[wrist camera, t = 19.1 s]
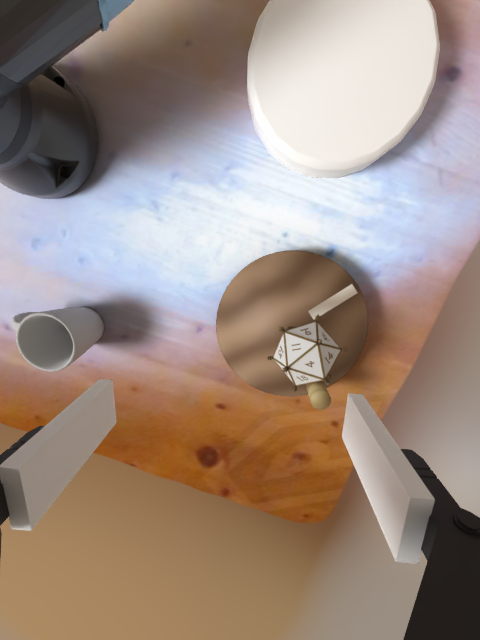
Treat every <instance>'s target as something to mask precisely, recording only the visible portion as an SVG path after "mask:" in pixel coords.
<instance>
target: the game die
mask: <svg viewBox="0 0 480 640" xmlns="http://www.w3.org/2000/svg"><path fill="white" fill-rule="evenodd" d="M318 320H319V314H318V315H317V316H315V321H313V322H310V323H307V324H304V325H301V326H297V327H294V328H291V329H290V328H287V329H286V330H284V328H283V327H280V326H279V331H281V332H283V333H282V336H281V338H280V341H279V343H278V345H277V348H276V350H275V352H274V355H273V356H268V357H267V358H266V359H268V360H272V359H273V360H274V361H275V362H276V363H277V365H278V366H279V367H280V368H281V369H282V371H283V372H284V373H285V374H286V376H287V377H288V378H289V379H290V381H291V382H292V383H293V384H294V387H293V389H292V390H293V393H294V392H295V391H297V390H296V389H297V386H300V385H305V384H310V383H314V382H319V381H324V383H325V385H328V386H330V385H329V383H330V382H329V381H328V380H327V379H326V378H328V379H331V375H329V373H330V371H331V369H332V367H333V366H334V364H335V362H336V360H337V358H338V356H339V355H340V353H341V351H347V350H348V349H349V348H348V347H343V348H341V347H340V346H339V345H338V344H337V343H336V342H335V341H334V340H333V338H332V337H331V336H330V335H329V334H328V333H327V332H326V331H325V330H324V328H323V327H322V326H321V325H320V324H319V323H318Z"/></svg>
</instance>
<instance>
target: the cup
mask: <svg viewBox="0 0 480 640" xmlns="http://www.w3.org/2000/svg"><path fill="white" fill-rule="evenodd" d="M20 321H22V322H20ZM12 327H13V328H14V329H15V331H16V332H17V333H16V341H17V346H18V348H19V350H20V353H21V354H22V356H23V357H24V358H25V360H27V361H28V362H29V363H30V364H31V365H33V366H34V367H36V368H38V369H41V370H44V371H58V370H62V369H64V368H66V367H67V366H69V365H70V364H71V363H72V362H74V361H75V360H76V359H77V358H79V357H80V356H81V355H82V354H84V353H85V352H86V351H87V350H88V349H89V348H90V347H92V346H93V345H94V344H95V343H96V342H97V341H98V340H99V339H100V338H101V337H102V335H103V331H104V325H103V322H102V319H101V318H100V316H99V315H98V314H97V313H96V312H95V311H93V310H92V309H90V308H86V307H78V308H67V309H58V310H51V311H44V312H28V313H22V314H19V315H16V316H15V317H13V319H12Z"/></svg>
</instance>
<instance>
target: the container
mask: <svg viewBox="0 0 480 640" xmlns="http://www.w3.org/2000/svg"><path fill="white" fill-rule="evenodd" d="M439 53H440V42H439V34H438V27H437V20H436V12H435V10H434V8H433V6H432V4H431V2H430V0H269V2H268V4H267V5H266V7H265V9H264V10H263V12H262V13H261V15H260V17H259V18H258V20H257V23H256V27H255V30H254V34H253V37H252V41H251V44H250V48H249V51H248V65H247V92H248V103H249V107H250V111H251V115H252V119H253V122H254V126H255V130H256V132H257V134H258V136H259V137H260V139H261V140H262V142H263V143H264V145H265V147H266V148H267V150H268V151H269V153H270V154H271V155H272V156H273V157H274V158H276V159H277V160H278V161H279V162H281V163H282V164H283V165H284V166H286V167H287V168H288V169H289V170H292V171H294V172H297V173H300V174H303V175H306V176H309V177H311V178H340V177H343V176H345V175H348V174H351V173H354V172H357V171H360V170H363V169H365V168H366V167H367V166H369V165H370V164H372V163H373V162H374V161H376V160H377V159H378V158H380V157H381V156H383V155H384V154H385V153H387V152H388V151H389V150H391V149H392V148H393V147H394V146H396V145H397V144H398V143H400V141H401V140H402V139H403V138H404V136H405V135H406V134H407V133H408V131H409V130H410V129H411V128H412V126H413V125H414V124H415V123H416V121H417V120H418V119H419V118H420V116H421V114H422V112H423V110H424V107H425V105H426V103H427V101H428V98H429V96H430V94H431V91H432V89H433V87H434V84H435V80H436V73H437V66H438V59H439Z"/></svg>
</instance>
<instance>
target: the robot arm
mask: <svg viewBox="0 0 480 640" xmlns="http://www.w3.org/2000/svg"><path fill="white" fill-rule="evenodd" d="M133 1H134V0H0V183H2V184H3V185H5V186H6V187H8V188H10V189H12V190H14V191H16V192H19V193H22V194H25V195H29V196H33V197H37V198H43V199H54V198H60V197H63V196H66V195H68V194H70V193H72V192H73V191H75V190H76V189H78V188H79V187H80V186H81V185H82V184H83V183H84V182H85V180H86V179H87V177H88V176H89V174H90V172H91V170H92V168H93V165H94V163H95V159H96V154H97V145H98V138H97V129H96V124H95V120H94V117H93V114H92V111H91V109H90V107H89V105H88V103H87V101H86V99H85V98H84V96H83V94H82V93H81V92H80V90H79V89H78V88H77V87H76V86H75V85H74V84H73V83H72V82H71V81H70V80H69V79H68V78H66V77H65V76H64V75H63V74H62V73H61V72H60V71H58V70H57V69H56V68H55V67H53V66H52V65H53V64H55V63H56V62H57V61H59V60H60V59H61V58H63V57H64V56H65V55H67V54H68V53H70V52H71V51H72V50H74V49H75V48H76V47H78V46H79V45H80V44H82V43H83V42H84V41H86V40H87V39H88V38H90V37H91V36H92V35H94V34H95V33H97V32H98V31H99V30H102V32H103V31H105V30H107V28H108V25H109V22H110V21H111V20H112V19H114V18H115V17H116V16H117V15H118V14H119V13H121V12H122V11H123V10H124V9H125V8H127V7H128V6H129V5H130V4H131V3H132V2H133ZM115 424H116V412H115V401H114V390H113V380H104V379H99V380H98V381H97V382H96V383H94V384H93V385H92V386H91V387H90V388H89V389H87V390H86V391H85V392H84V393H83V394H82V395H80V396H79V397H78V398H77V399H76V400H75V401H74V402H72V403H71V404H70V405H69V406H68V407H67V408H65V409H64V410H63V411H62V412H61V413H60V414H58V415H57V416H56V417H55V418H54V419H53V420H52V421H50V422H49V423H48V424H47V425H46V426H39V427H37V428H35V429H33V430H32V431H30V432H28V433H26V434H25V435H24V436H23V437H22V438H20V439H19V440H18V442H16V443H15V444H13V445H12V446H11V447H10V448H9V449H7V450H6V451H5V452H3V453H2V454H1V455H0V525H1V524H2V523H3V522H4V521H5V520H6V519H7V518H8V517H9V519H10V524H11V528H12V529H19V530H31V531H32V529H33V528H34V527H35V525H36V524H37V523H38V522H39V520H40V519H41V518H42V517H43V515H44V514H45V513H46V511H47V510H48V509H49V508H50V506H51V505H52V504H53V502H54V501H55V500H56V499H57V497H58V496H59V495H60V494H61V492H62V491H63V490H64V488H65V487H66V486H67V485H68V483H69V482H70V481H71V480H72V478H73V477H74V476H75V475H76V473H77V472H78V471H79V469H80V468H81V467H82V465H83V464H84V463H85V462H86V461H87V459H88V458H89V457H90V455H91V454H92V453H93V452H94V450H95V449H96V448H97V447H98V445H99V444H100V443H101V441H102V440H103V439H104V438H105V436H106V435H107V434H108V433H109V431H110V430H111V429H112V427H113V426H114V425H115ZM342 438H343V441H344V443H345V445H346V448H347V450H348V452H349V455H350V457H351V459H352V462H353V464H354V466H355V469H356V471H357V473H358V476H359V478H360V480H361V482H362V485H363V487H364V489H365V492H366V494H367V496H368V499H369V501H370V503H371V505H372V508H373V510H374V513H375V515H376V517H377V520H378V522H379V524H380V527H381V529H382V531H383V533H384V536H385V538H386V540H387V543H388V545H389V547H390V550H391V552H392V554H393V556H394V559H395V561H396V562H405V563H417V564H418V563H419V560H420V556H421V552H422V551H423V553H424V555H425V557H426V559H427V561H428V562H427V565H426V568H425V572H424V575H423V578H422V581H421V585H420V588H419V591H418V594H417V598H416V601H415V604H414V608H413V611H412V614H411V617H410V620H409V623H408V627H407V630H406V633H405V636H404V640H480V518H479V517H477V516H475V515H474V514H473V513H471V512H469V511H467V510H464V509H462V508H460V507H459V505H458V504H457V503H456V502H455V500H454V499H453V497H452V496H451V495H450V494H449V492H448V491H447V490H446V488H445V487H444V486H443V485H442V483H441V482H440V480H439V479H437V477H436V475H435V474H434V473H433V471H431V470H430V467H429V466H428V465H427V463H426V462H425V461H424V459H423V458H421V457H420V456H419V455H418V454H416V453H415V452H414V451H412V450H408V449H400V448H399V447H398V445H397V444H396V442H395V441H394V440H393V438H392V437H391V435H390V434H389V432H388V431H387V429H386V428H385V426H384V425H383V423H382V422H381V420H380V419H379V418H378V416H377V415H376V413H375V412H374V410H373V409H372V407H371V406H370V404H369V403H368V402H367V400H366V399H365V397H364V396H363V394H348V399H347V406H346V413H345V420H344V427H343V434H342ZM0 556H1V529H0Z"/></svg>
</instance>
